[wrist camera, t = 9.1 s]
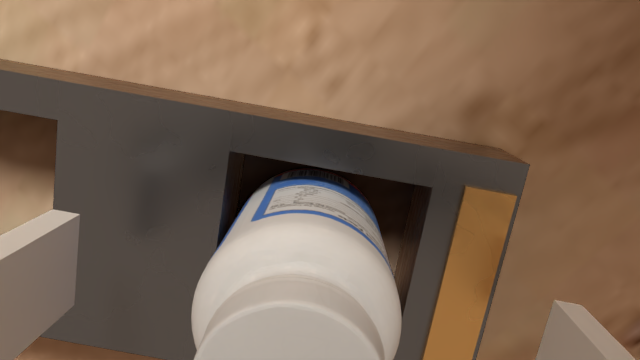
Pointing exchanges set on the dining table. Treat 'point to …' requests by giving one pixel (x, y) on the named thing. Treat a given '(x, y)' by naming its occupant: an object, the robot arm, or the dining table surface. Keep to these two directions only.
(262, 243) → the pill bottle
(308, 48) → the dining table surface
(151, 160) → the grey bottle holder tray
